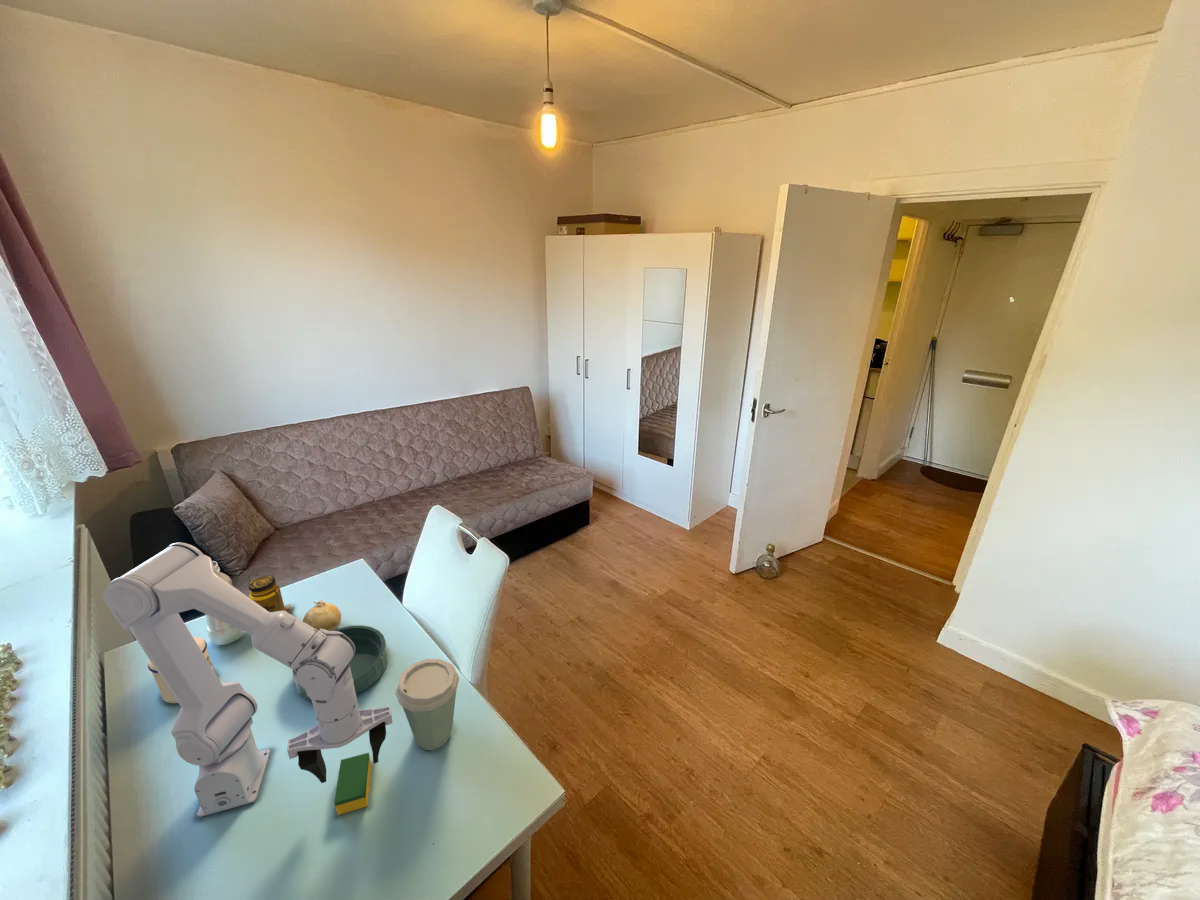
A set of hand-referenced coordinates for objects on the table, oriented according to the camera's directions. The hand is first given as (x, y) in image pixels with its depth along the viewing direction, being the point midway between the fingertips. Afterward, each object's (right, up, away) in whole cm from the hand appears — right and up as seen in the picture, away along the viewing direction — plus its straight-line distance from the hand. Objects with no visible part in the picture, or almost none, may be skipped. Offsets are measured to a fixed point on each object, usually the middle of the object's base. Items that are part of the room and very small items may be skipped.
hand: (350, 767), depth 80 cm
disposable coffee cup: (+10, -2, +11) cm, 15 cm away
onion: (-25, +9, +36) cm, 45 cm away
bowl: (-14, +5, +25) cm, 29 cm away
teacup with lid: (-44, +4, +21) cm, 49 cm away
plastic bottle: (-45, +8, +32) cm, 56 cm away
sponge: (0, -5, +2) cm, 5 cm away
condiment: (-38, +11, +38) cm, 55 cm away
